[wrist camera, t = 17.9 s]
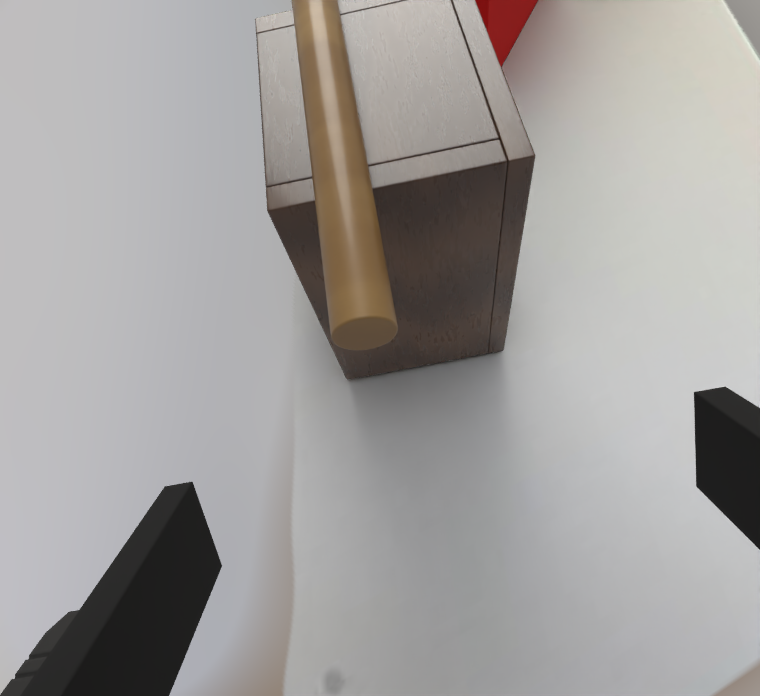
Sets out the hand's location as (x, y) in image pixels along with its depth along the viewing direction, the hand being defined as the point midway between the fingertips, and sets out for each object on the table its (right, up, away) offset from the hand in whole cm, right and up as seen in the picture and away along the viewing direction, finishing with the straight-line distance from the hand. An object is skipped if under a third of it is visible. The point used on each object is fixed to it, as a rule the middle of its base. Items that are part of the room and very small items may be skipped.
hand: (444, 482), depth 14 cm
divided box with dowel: (+4, +13, +14) cm, 19 cm away
